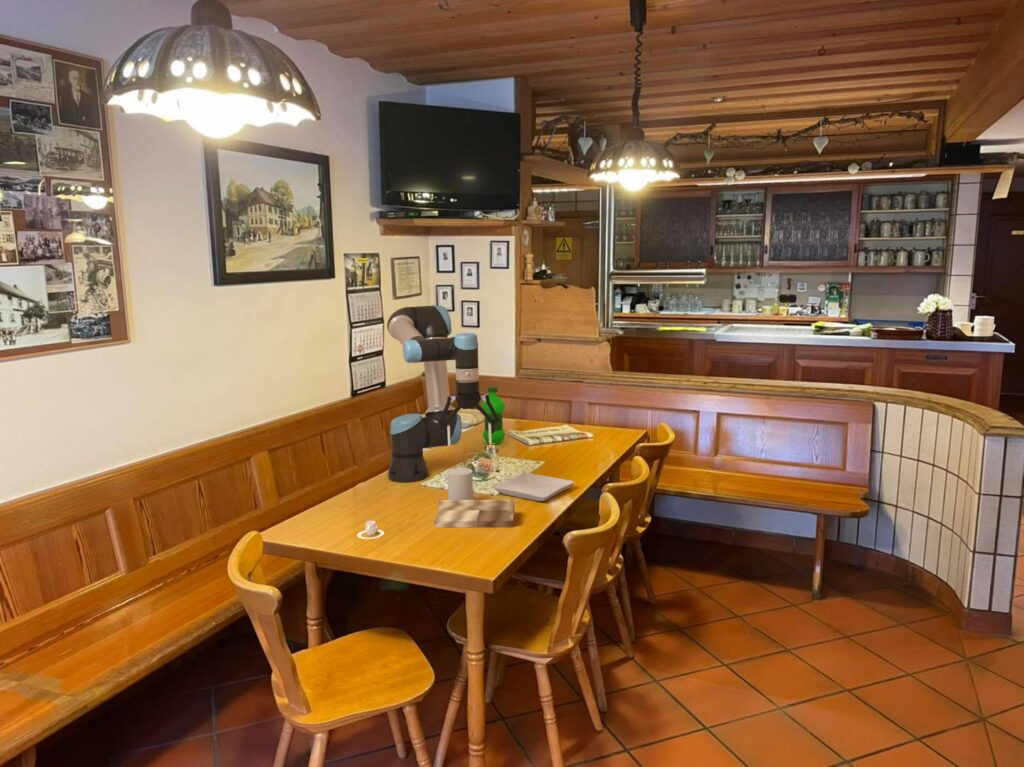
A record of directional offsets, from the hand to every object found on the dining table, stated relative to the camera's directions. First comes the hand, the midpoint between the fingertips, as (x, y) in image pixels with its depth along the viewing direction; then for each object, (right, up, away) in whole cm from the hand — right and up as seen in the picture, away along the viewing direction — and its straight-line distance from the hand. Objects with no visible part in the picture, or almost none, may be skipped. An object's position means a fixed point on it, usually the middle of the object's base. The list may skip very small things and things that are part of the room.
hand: (469, 443), depth 245 cm
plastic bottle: (+6, -7, +83) cm, 83 cm away
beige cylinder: (-3, -21, -2) cm, 21 cm away
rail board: (+3, -23, -16) cm, 28 cm away
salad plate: (+22, -18, +12) cm, 31 cm away
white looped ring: (-26, -25, -23) cm, 43 cm away
